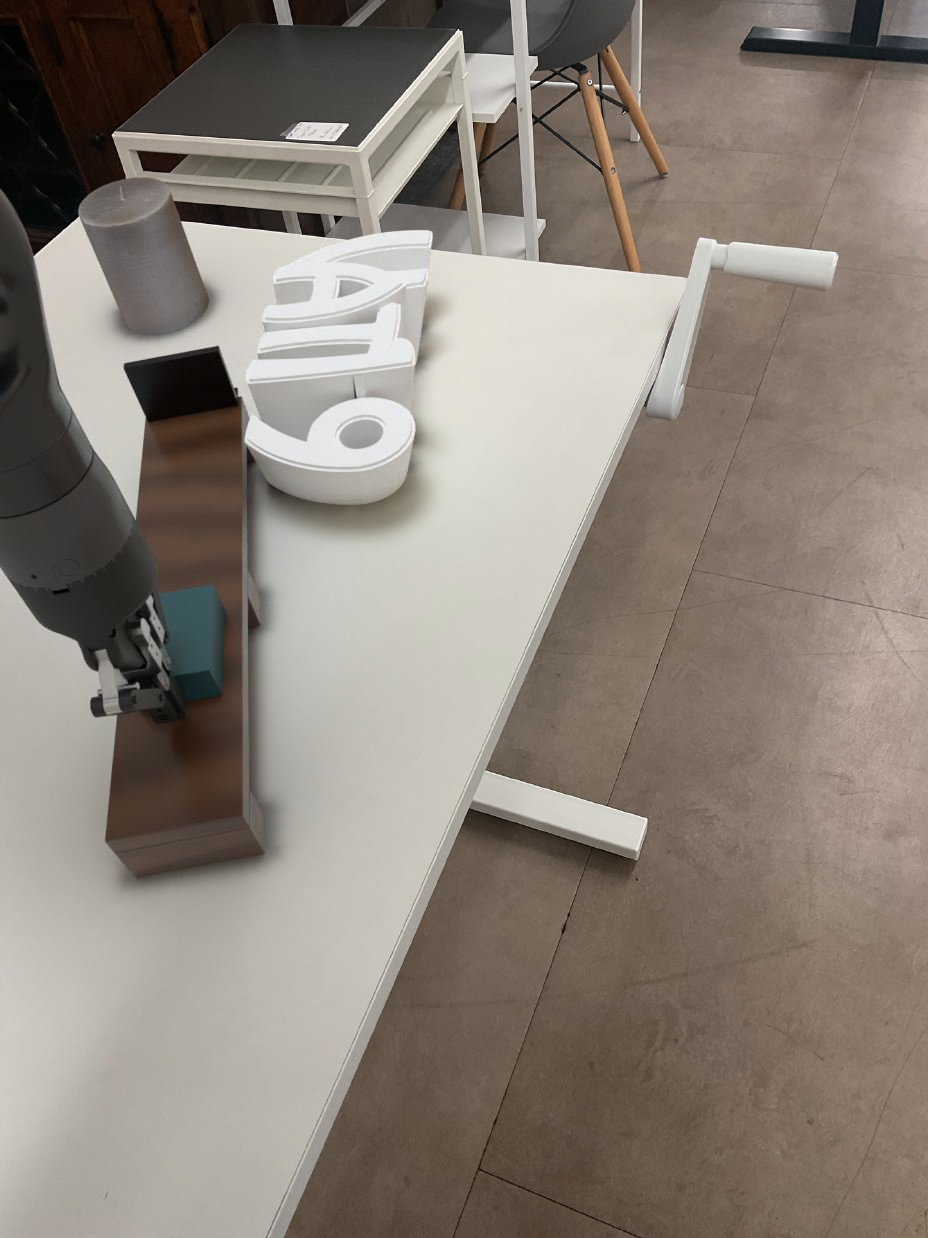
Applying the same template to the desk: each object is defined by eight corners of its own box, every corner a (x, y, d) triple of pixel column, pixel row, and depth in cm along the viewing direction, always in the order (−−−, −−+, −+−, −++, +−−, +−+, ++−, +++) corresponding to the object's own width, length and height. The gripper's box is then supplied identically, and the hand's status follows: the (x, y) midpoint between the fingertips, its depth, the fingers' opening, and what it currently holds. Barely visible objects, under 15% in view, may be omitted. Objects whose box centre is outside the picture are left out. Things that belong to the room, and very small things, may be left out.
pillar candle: (161, 284, 118) (112, 159, 107) (228, 298, 115) (184, 170, 103) (108, 332, 113) (51, 205, 101) (176, 348, 109) (125, 218, 98)
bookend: (238, 405, 92) (218, 350, 87) (147, 422, 92) (123, 368, 87) (238, 390, 93) (219, 335, 89) (149, 407, 93) (125, 353, 89)
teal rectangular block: (222, 695, 71) (209, 670, 69) (138, 710, 71) (122, 685, 69) (225, 610, 76) (213, 583, 74) (147, 623, 76) (132, 598, 74)
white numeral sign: (311, 308, 111) (287, 218, 103) (458, 300, 109) (446, 208, 101) (239, 538, 89) (202, 448, 81) (422, 535, 87) (402, 442, 79)
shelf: (267, 858, 69) (242, 816, 64) (138, 882, 69) (104, 842, 64) (259, 445, 97) (241, 395, 93) (167, 462, 97) (145, 413, 93)
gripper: (16, 469, 60) (127, 649, 73) (-25, 636, 51) (108, 807, 64) (140, 445, 60) (228, 630, 73) (119, 609, 51) (223, 786, 64)
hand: (172, 713), depth 69 cm, fingers closed
